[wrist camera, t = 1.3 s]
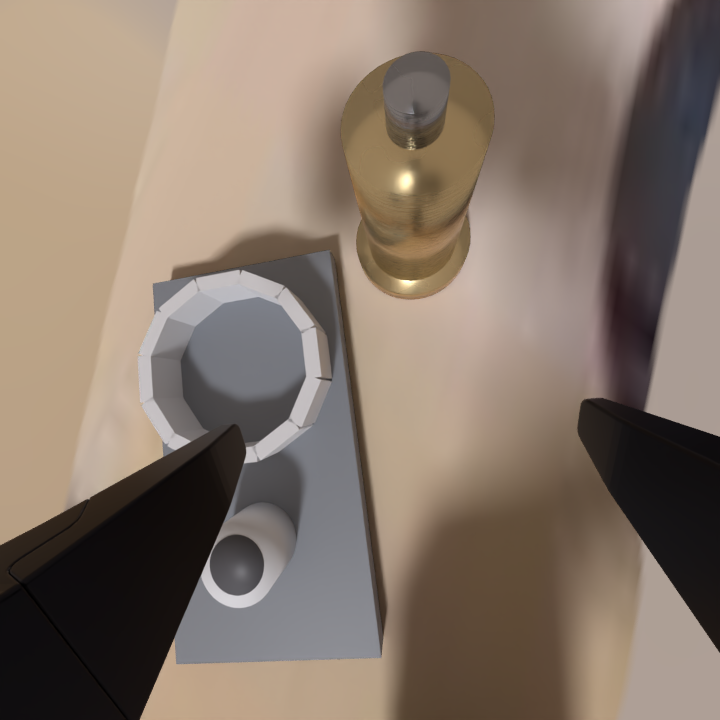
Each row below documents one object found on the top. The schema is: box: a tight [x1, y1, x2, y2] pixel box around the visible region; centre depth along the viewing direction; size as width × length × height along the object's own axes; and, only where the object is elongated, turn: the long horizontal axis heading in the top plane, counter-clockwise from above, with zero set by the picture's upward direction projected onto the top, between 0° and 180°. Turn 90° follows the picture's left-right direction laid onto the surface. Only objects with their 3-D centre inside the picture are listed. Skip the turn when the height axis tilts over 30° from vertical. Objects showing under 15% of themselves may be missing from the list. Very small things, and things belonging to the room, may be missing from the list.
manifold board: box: [138, 250, 383, 664], centre depth 19 cm, size 23×12×5 cm, turn 8°
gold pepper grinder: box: [341, 51, 495, 299], centre depth 16 cm, size 7×7×12 cm
